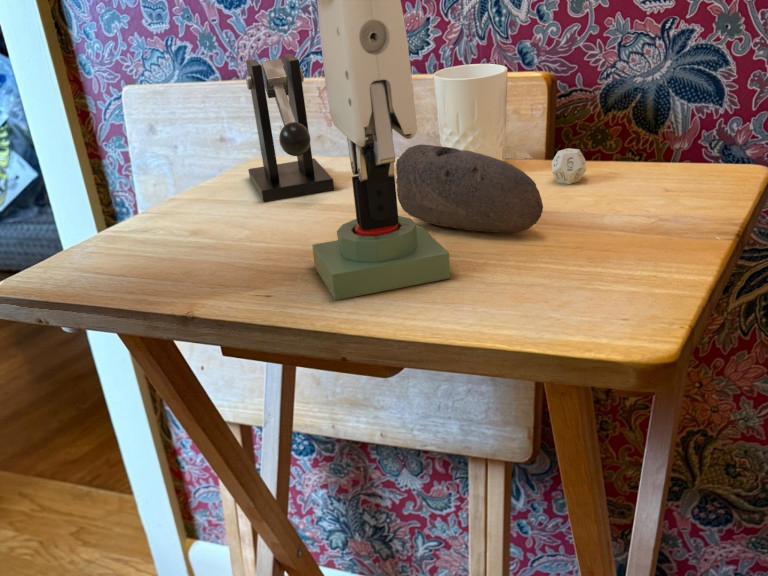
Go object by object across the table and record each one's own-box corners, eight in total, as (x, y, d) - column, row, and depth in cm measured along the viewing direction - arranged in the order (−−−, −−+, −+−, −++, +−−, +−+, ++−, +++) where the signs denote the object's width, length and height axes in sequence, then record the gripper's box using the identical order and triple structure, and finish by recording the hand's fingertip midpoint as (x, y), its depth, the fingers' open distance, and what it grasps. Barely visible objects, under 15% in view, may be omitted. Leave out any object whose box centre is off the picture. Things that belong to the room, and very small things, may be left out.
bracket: (334, 189, 98) (318, 61, 91) (263, 202, 97) (241, 72, 89) (315, 168, 106) (299, 48, 99) (250, 179, 105) (228, 58, 97)
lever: (314, 160, 93) (313, 135, 90) (284, 165, 92) (282, 140, 89) (287, 80, 97) (285, 54, 94) (258, 84, 97) (255, 58, 94)
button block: (335, 300, 73) (328, 252, 71) (315, 269, 79) (308, 223, 77) (450, 278, 75) (448, 231, 72) (422, 249, 81) (419, 204, 79)
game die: (567, 188, 92) (568, 157, 90) (543, 181, 95) (544, 151, 93) (593, 180, 93) (594, 150, 92) (569, 174, 96) (569, 144, 94)
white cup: (518, 160, 102) (517, 63, 96) (494, 180, 96) (492, 78, 90) (454, 158, 105) (450, 64, 99) (427, 177, 99) (421, 79, 93)
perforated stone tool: (555, 230, 82) (557, 151, 78) (525, 249, 79) (525, 167, 75) (426, 210, 90) (422, 137, 86) (394, 226, 87) (387, 151, 83)
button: (363, 256, 74) (360, 235, 73) (352, 243, 77) (350, 222, 76) (404, 248, 74) (402, 227, 73) (392, 236, 77) (390, 215, 76)
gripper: (433, -33, 58) (449, 244, 69) (375, -44, 70) (396, 194, 81) (322, -18, 57) (356, 261, 68) (282, -32, 69) (316, 208, 80)
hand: (378, 224), depth 75 cm, fingers closed
